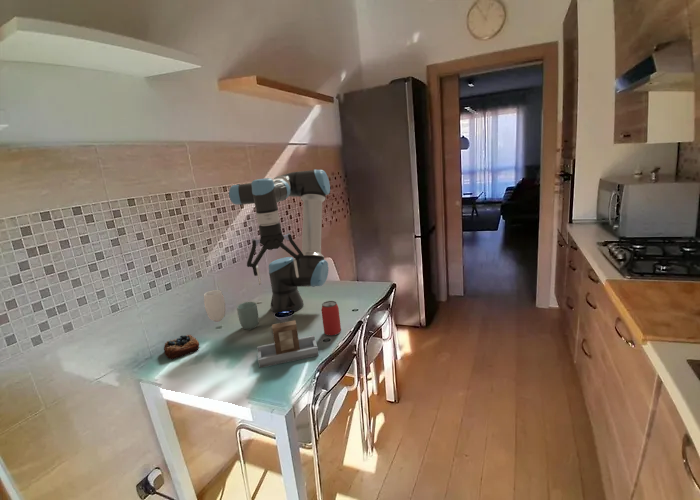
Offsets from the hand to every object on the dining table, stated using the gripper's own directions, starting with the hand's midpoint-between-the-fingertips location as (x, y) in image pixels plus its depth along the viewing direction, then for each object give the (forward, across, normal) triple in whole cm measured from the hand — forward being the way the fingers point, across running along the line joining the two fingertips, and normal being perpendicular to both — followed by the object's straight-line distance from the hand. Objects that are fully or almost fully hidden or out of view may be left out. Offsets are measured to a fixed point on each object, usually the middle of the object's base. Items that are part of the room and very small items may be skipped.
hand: (279, 279), depth 136 cm
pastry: (+24, -40, +8) cm, 47 cm away
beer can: (+24, +17, -3) cm, 30 cm away
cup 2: (+24, -14, +17) cm, 33 cm away
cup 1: (+24, -25, +8) cm, 36 cm away
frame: (+22, -2, -14) cm, 27 cm away
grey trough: (+23, -2, -14) cm, 27 cm away
